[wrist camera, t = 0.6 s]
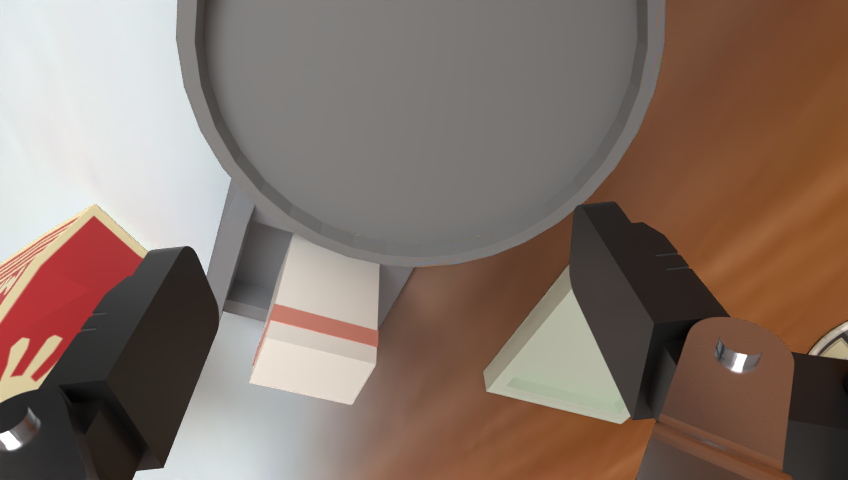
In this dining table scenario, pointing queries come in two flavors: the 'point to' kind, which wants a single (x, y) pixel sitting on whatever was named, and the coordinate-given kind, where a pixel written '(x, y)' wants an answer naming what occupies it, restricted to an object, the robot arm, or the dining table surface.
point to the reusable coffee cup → (419, 114)
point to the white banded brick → (320, 325)
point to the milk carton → (57, 293)
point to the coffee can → (833, 343)
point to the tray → (557, 360)
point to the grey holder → (266, 261)
